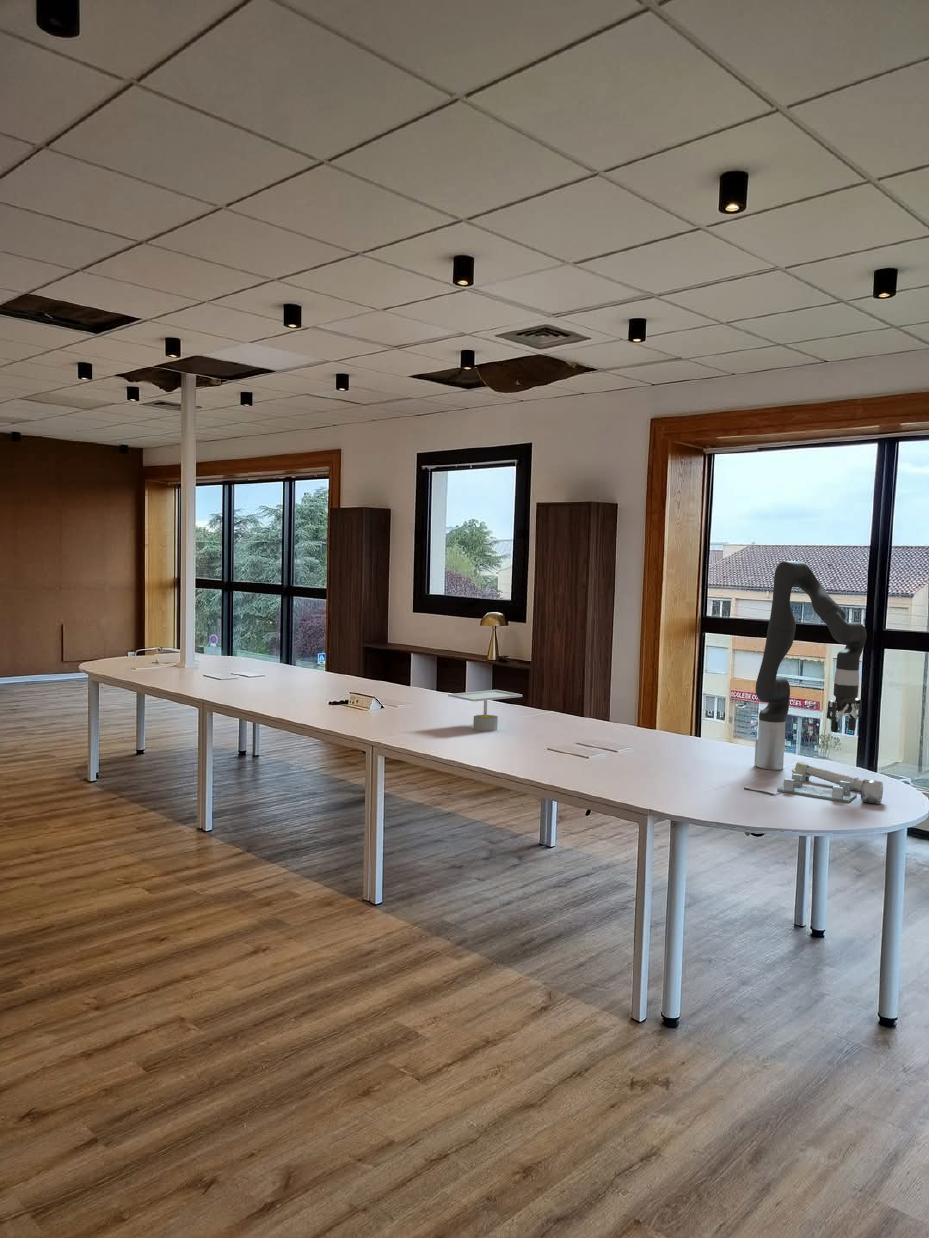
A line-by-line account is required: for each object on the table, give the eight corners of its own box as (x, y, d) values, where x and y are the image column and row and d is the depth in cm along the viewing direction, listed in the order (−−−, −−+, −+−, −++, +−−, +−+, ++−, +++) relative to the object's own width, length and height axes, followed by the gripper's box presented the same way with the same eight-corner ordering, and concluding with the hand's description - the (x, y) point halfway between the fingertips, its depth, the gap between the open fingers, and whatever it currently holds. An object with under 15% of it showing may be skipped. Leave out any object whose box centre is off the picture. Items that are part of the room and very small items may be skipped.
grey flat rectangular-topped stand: (495, 722, 410) (496, 689, 410) (521, 728, 397) (522, 694, 396) (446, 728, 393) (447, 694, 392) (472, 735, 380) (473, 699, 379)
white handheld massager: (863, 782, 298) (791, 758, 315) (859, 801, 299) (788, 777, 316) (870, 779, 302) (798, 756, 319) (866, 799, 303) (795, 775, 320)
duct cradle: (777, 791, 298) (778, 769, 298) (786, 785, 307) (787, 764, 306) (876, 807, 281) (877, 784, 280) (883, 800, 289) (884, 778, 289)
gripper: (851, 680, 310) (847, 727, 311) (822, 682, 303) (819, 730, 304) (870, 683, 303) (866, 731, 305) (841, 685, 296) (838, 734, 298)
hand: (843, 731), depth 304 cm, fingers open, 8 cm apart
